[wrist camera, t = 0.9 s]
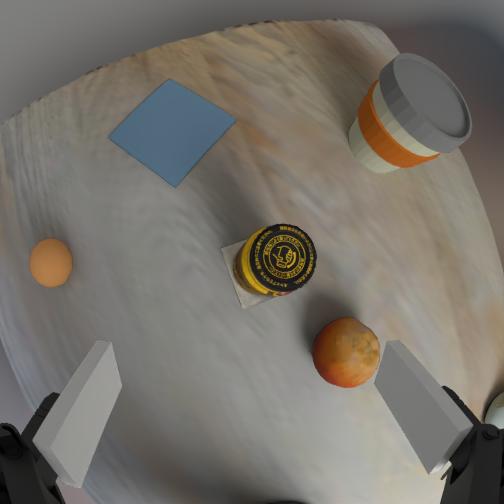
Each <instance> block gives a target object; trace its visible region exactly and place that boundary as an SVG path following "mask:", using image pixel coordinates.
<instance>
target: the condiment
mask: <svg viewBox="0 0 504 504" xmlns="http://www.w3.org/2000/svg"><path fill="white" fill-rule="evenodd" d="M221 251H222V254H223V256H224V259H225V262H226V265H227V268H228V270H229V273H230V276H231V279H232V282H233V284H234V287H235V290H236V292H237V295H238V298H239V300H240V303H241V306H242V308H243V309H245V308H248V307H250V306H253V305H255V304H258V303H261V302H263V301H266V300H269V299H271V298H274V297H276V296H282V295H286V294H289V293H291V292H293V291H295V290H297V289H298V288H301V287H302V286H304V285H307V284H309V283H310V281H309V280H310V278H311V277H312V275H313V273H314V269H315V267H316V259H317V255H316V250H315V247H314V244H313V242H312V240H311V238H310V237H309V236H308V235H307V233H305V232H304V231H303V230H301V229H300V228H299V227H297V226H293V225H290V224H289V225H288V224H276V225H273V226H269V227H265V228H263V229H260V230H258V231H256V232H255V233H254V234H253V235H252V236H250V237H249V239H246V240H243V241H240V242H238V243H235V244H232V245H229V246H226V247H223V248H221Z"/></svg>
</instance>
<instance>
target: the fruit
mask: <svg viewBox="0 0 504 504" xmlns="http://www.w3.org/2000/svg"><path fill="white" fill-rule="evenodd" d="M309 352H311V354H312V357H313V361H314V365H315V368H316V369H317V371H318V373H319V374H320V376H321V377H322V378H323V379H324V380H325V381H327V382H329V383H331V384H333V385H336V386H340V387H344V388H352V387H356V386H358V385H360V384H362V383H364V382H365V381H366V380H368V379H369V378H370V377H371V376H372V375H373V373H374V371H375V370H376V369H377V366H378V363H379V362H380V346H379V342H378V338H377V337H376V335H375V334H374V333H373V331H372V330H371V329H370V328H368V327H367V326H365V325H364V324H362V323H361V322H360V321H358V320H356V319H354V318H350V317H343V318H339V319H337V320H335V321H333V322H331V323H330V324H329V325H327V326H326V327H325V328H324V329H323V330H322V331H321V332H320V333H319V334H318V335H317V337H316V339H315V341H314V344H313V348H312V349H311V351H309Z"/></svg>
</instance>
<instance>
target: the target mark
mask: <svg viewBox="0 0 504 504" xmlns="http://www.w3.org/2000/svg"><path fill="white" fill-rule="evenodd" d="M236 120H237V119H235V118H234V117H232V116H231V115H229V114H228V113H226V112H224V111H223V110H221V109H220V108H218V107H217V106H215V105H213V104H212V103H210V102H208V101H207V100H205V99H204V98H202V97H200V96H199V95H197V94H195V93H194V92H192V91H190V90H188V89H187V88H185V87H183V86H182V85H180V84H178V83H176V82H174V81H173V80H171V79H168V80H167V81H166V82H165V83H164V84H163V85H161V86H160V87H159V88H158V89H157V90H156V91H155V92H154V93H152V94H151V95H150V96H149V97H148V98H147V99H146V100H145V101H144V102H143V103H142V104H141V105H140V106H139V107H137V108H136V109H135V110H134V111H133V112H132V113H131V114H130V115H129V116H128V117H127V118H126V119H125V120H124V121H123V122H122V123H121V124H120V125H119V126H118V128H117V129H116V130H115V131H114V132H113V133H112V134H111V135H110V136H109V137H108V138H109V139H110V140H112V141H113V142H114V143H116V144H117V145H118V146H120V147H121V148H122V149H124V150H125V151H127V152H128V153H129V154H131V155H132V156H133V157H135V158H136V159H137V160H139V161H140V162H141V163H143V164H144V165H145V166H147V167H148V168H150V169H151V170H152V171H154V172H155V173H156V174H158V175H159V176H160V177H162V178H163V179H164V180H166V181H167V182H168V183H170V184H171V185H172V186H174V187H176V186H177V185H178V184H179V183H180V182H181V180H182V179H183V178H184V177H185V176H186V175H187V173H188V172H189V171H190V170H191V169H192V168H193V167H194V165H195V164H196V163H197V162H198V161H199V160H200V159H201V158H202V156H203V155H204V154H205V153H206V152H207V151H208V150H209V149H210V148H211V147H212V145H213V144H214V143H215V142H216V141H217V140H218V139H219V138H220V137H221V136H222V135H223V134H224V133H225V132H226V131H227V130H228V129H229V127H230V126H231V125H232V124H233V123H234V122H235V121H236Z"/></svg>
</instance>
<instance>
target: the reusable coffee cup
mask: <svg viewBox="0 0 504 504" xmlns="http://www.w3.org/2000/svg"><path fill="white" fill-rule="evenodd" d="M471 132H472V120H471V115H470V112H469V109H468V106H467V104H466V102H465V100H464V98H463V96H462V94H461V93H460V91H459V90H458V88H457V87H456V85H455V84H454V83H453V82H452V81H451V79H450V78H449V77H448V76H447V75H446V74H445V73H444V72H443V71H442V70H441V69H439V68H438V67H437V66H436V65H434V64H433V63H432V62H430V61H428V60H427V59H425V58H423V57H420V56H418V55H416V54H411V53H403V54H399V55H398V56H397V57H396V58H394V59H393V60H392V61H391V62H390V63H389V64H387V65H386V66H385V67H384V68H383V69H382V71H381V73H380V77H379V80H377V81H375V82H374V83H373V84H372V86H371V88H370V89H369V91H368V93H367V95H366V96H365V98H364V100H363V102H362V103H361V105H360V107H359V110H358V116H357V118H356V119H355V121H354V123H353V124H352V126H351V128H350V130H349V134H348V138H349V144H350V147H351V150H352V152H353V154H354V155H355V157H356V158H357V159H358V161H359V162H360V163H361V164H363V165H364V166H365V167H366V168H368V169H370V170H372V171H374V172H377V173H388V172H391V171H393V170H396V169H399V168H401V167H402V168H408V167H413V166H415V165H418V164H421V163H424V162H426V161H429V160H432V159H434V158H436V157H438V156H439V155H440V154H441V153H449V152H451V151H453V150H454V149H456V148H457V147H458V146H459V145H461V144H462V143H463V142H464V141H466V140H467V139H468V138H469V137H470V135H471Z"/></svg>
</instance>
